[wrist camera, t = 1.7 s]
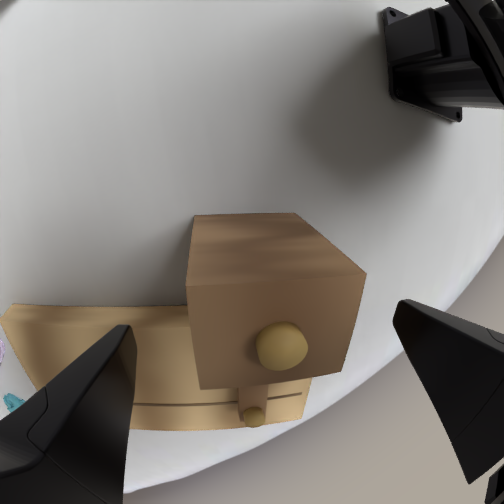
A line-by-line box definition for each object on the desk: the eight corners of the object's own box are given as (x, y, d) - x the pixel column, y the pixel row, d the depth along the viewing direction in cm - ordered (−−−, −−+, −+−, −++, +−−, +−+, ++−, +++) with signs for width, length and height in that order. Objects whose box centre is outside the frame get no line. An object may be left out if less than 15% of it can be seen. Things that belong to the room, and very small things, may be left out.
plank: (312, 296, 16) (325, 315, 14) (294, 400, 20) (301, 419, 18) (12, 303, 13) (-2, 320, 11) (62, 400, 17) (56, 417, 15)
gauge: (294, 212, 14) (377, 283, 7) (279, 378, 18) (309, 467, 11) (194, 215, 13) (183, 298, 6) (209, 385, 18) (219, 481, 11)
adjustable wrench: (-6, 395, 15) (17, 398, 15) (-3, 389, 16) (20, 392, 16) (65, 462, 21) (92, 467, 21) (66, 457, 21) (93, 461, 22)
